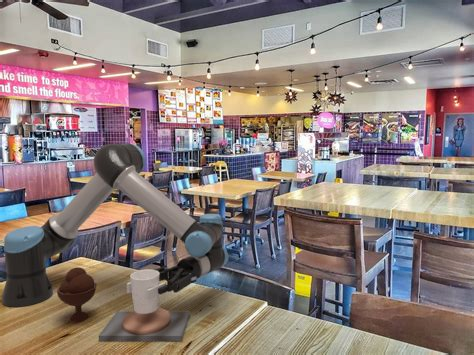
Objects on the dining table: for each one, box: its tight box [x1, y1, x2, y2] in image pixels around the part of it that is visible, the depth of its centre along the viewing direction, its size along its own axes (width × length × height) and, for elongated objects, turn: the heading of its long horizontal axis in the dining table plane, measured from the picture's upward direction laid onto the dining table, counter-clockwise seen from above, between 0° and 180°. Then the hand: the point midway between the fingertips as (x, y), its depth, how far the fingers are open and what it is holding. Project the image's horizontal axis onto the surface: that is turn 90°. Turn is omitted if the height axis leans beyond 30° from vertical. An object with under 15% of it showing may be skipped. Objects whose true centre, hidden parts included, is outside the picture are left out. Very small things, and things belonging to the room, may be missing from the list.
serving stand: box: [98, 307, 191, 342], centre depth 105 cm, size 22×14×3 cm, turn 89°
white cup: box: [129, 269, 160, 314], centre depth 104 cm, size 8×8×10 cm
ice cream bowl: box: [56, 266, 98, 323], centre depth 111 cm, size 11×11×15 cm
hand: (137, 291), depth 102 cm, fingers closed on white cup, 7 cm apart
